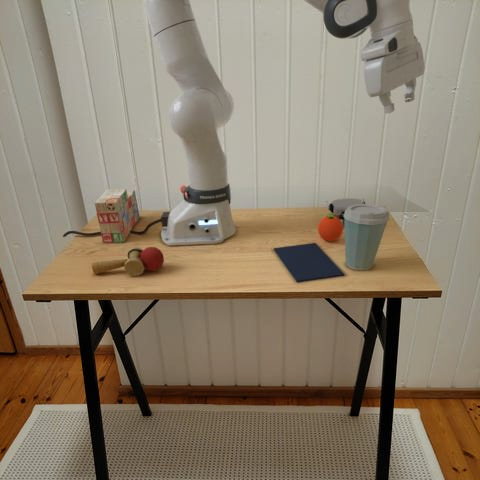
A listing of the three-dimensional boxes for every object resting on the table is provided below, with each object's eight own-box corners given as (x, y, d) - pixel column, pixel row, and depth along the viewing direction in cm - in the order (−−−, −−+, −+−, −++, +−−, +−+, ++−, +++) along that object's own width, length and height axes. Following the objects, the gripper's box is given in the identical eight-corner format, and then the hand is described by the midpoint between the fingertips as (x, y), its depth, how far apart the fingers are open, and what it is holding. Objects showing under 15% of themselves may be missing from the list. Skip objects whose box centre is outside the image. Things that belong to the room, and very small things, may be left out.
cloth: (297, 282, 108) (297, 280, 108) (273, 249, 125) (273, 248, 124) (344, 275, 110) (344, 274, 110) (315, 244, 127) (315, 242, 126)
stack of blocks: (121, 217, 151) (114, 180, 145) (140, 217, 151) (133, 180, 144) (102, 243, 133) (93, 202, 127) (123, 242, 133) (116, 201, 126)
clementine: (314, 234, 132) (315, 211, 128) (337, 233, 133) (339, 209, 129) (320, 245, 126) (321, 221, 122) (344, 244, 126) (347, 219, 122)
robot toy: (375, 229, 136) (361, 209, 148) (378, 215, 134) (363, 195, 146) (335, 231, 136) (324, 211, 148) (337, 217, 133) (325, 198, 145)
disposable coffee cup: (335, 256, 119) (340, 200, 111) (377, 255, 119) (385, 199, 111) (342, 275, 110) (347, 215, 102) (387, 274, 110) (396, 214, 102)
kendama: (94, 286, 113) (164, 271, 113) (86, 262, 111) (158, 247, 110) (101, 277, 120) (167, 263, 120) (93, 254, 118) (161, 240, 118)
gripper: (403, 35, 109) (409, 97, 115) (355, 54, 98) (365, 121, 105) (428, 28, 104) (433, 92, 111) (381, 47, 94) (390, 117, 100)
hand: (400, 106), depth 108 cm, fingers open, 8 cm apart
